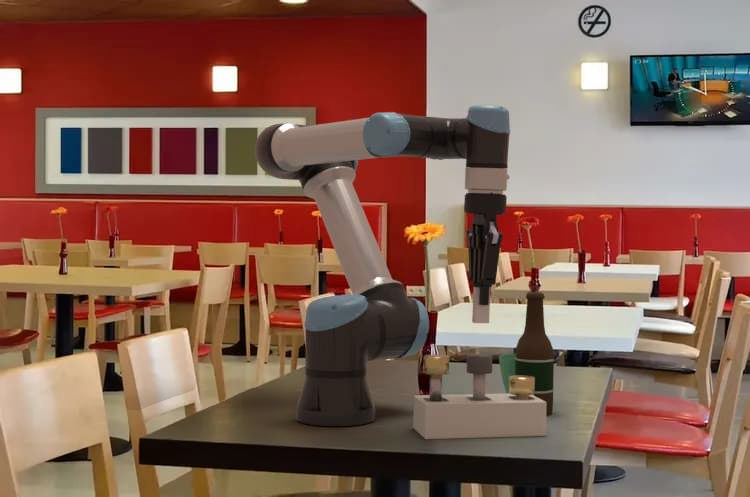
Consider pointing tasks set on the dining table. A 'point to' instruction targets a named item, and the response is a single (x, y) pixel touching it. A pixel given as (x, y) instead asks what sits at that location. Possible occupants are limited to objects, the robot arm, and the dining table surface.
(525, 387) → the knob right
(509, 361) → the mug
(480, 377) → the knob mid
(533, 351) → the beer bottle
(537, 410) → the panel
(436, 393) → the knob left
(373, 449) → the dining table surface
